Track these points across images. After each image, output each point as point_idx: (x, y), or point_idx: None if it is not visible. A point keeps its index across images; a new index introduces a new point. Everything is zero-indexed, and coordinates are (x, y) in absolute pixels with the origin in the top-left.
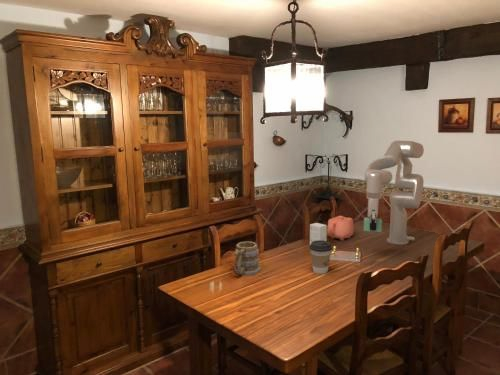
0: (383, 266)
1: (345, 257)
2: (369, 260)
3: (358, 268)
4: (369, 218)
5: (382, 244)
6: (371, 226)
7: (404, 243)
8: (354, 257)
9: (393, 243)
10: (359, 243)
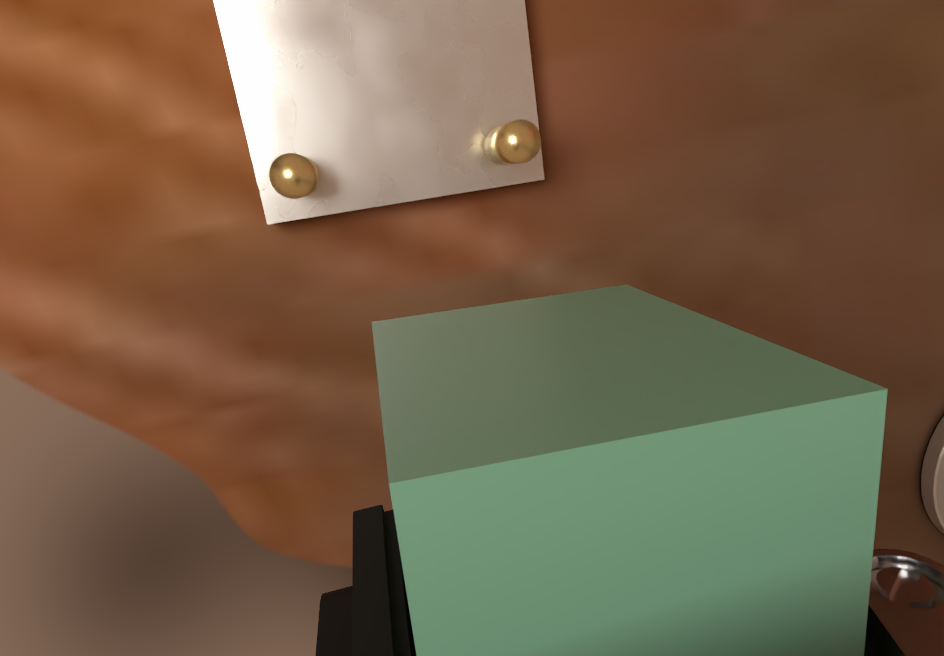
0: (253, 481)
1: (269, 12)
2: (375, 312)
3: (33, 246)
4: (758, 635)
5: (911, 340)
6: (319, 642)
7: (941, 529)
8: (323, 136)
9: (936, 438)
10: (906, 94)
